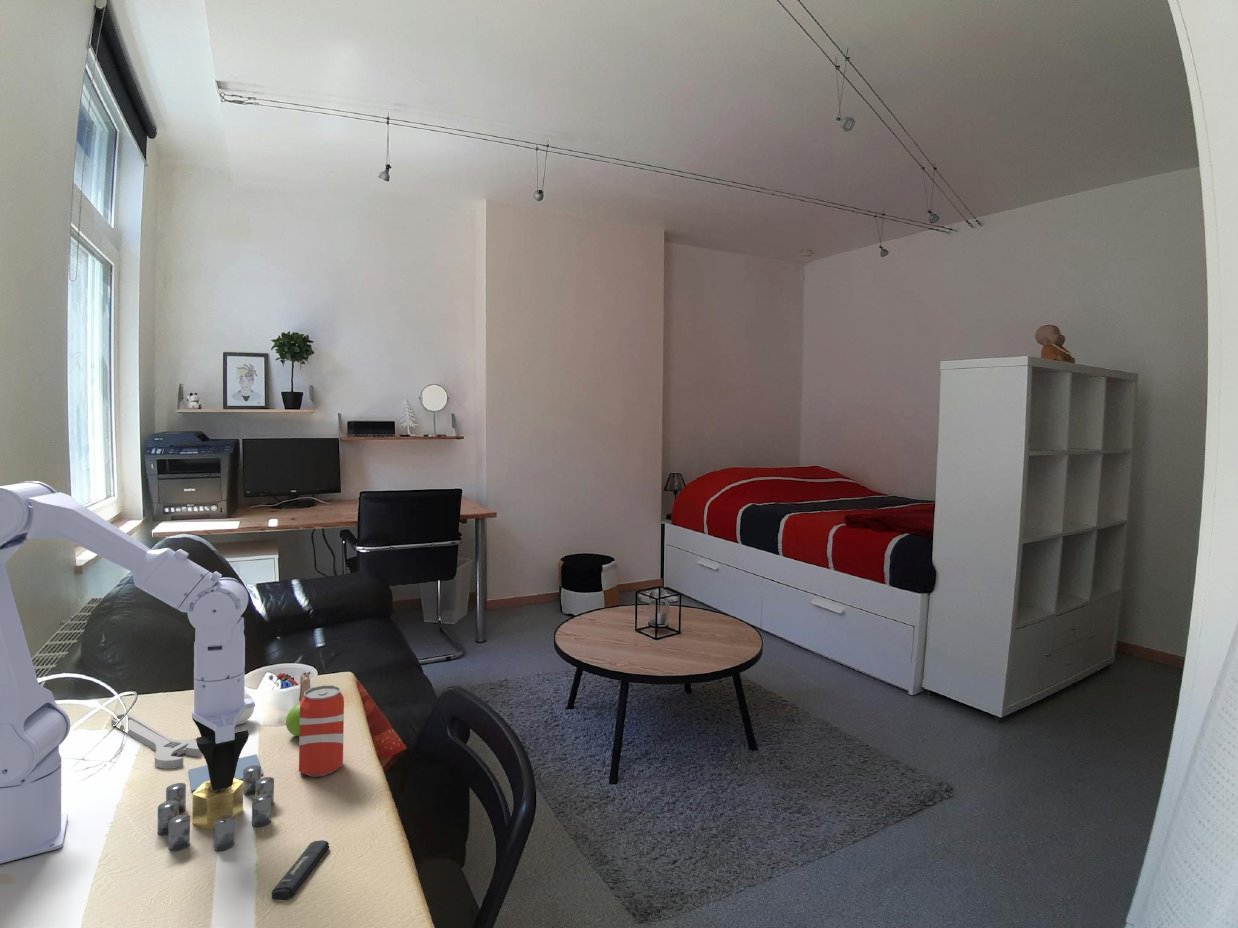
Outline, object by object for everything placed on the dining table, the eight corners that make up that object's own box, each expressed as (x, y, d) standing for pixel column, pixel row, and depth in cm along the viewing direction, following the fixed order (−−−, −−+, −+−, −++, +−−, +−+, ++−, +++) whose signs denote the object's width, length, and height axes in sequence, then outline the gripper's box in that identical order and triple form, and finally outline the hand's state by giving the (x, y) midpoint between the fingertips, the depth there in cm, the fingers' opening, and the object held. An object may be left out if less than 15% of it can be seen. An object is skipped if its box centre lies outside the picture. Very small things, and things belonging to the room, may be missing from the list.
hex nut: (193, 833, 84) (193, 802, 84) (191, 814, 88) (191, 784, 88) (245, 819, 87) (245, 789, 87) (240, 801, 91) (241, 772, 91)
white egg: (259, 724, 115) (260, 692, 115) (223, 734, 111) (224, 701, 111) (243, 711, 120) (243, 680, 120) (208, 720, 116) (208, 688, 116)
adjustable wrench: (107, 726, 114) (107, 716, 113) (151, 714, 119) (151, 704, 119) (162, 774, 98) (162, 762, 98) (209, 758, 103) (210, 747, 103)
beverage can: (342, 756, 105) (343, 681, 104) (343, 775, 99) (344, 696, 98) (299, 762, 102) (301, 686, 102) (298, 782, 96) (299, 701, 96)
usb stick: (310, 849, 82) (310, 837, 82) (331, 850, 82) (331, 838, 82) (268, 902, 72) (268, 889, 72) (291, 903, 72) (291, 890, 72)
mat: (191, 792, 93) (191, 790, 93) (188, 771, 99) (188, 769, 99) (263, 774, 98) (263, 773, 98) (256, 755, 104) (256, 753, 104)
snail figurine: (287, 747, 107) (288, 674, 107) (284, 731, 113) (285, 662, 112) (323, 740, 110) (324, 669, 109) (319, 725, 115) (320, 657, 115)
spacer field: (159, 869, 77) (159, 842, 77) (156, 811, 88) (156, 787, 88) (284, 832, 84) (284, 808, 84) (267, 783, 96) (267, 761, 96)
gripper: (262, 685, 83) (261, 790, 84) (247, 652, 95) (246, 745, 96) (196, 696, 79) (195, 807, 80) (188, 661, 91) (188, 757, 91)
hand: (219, 774), depth 87 cm, fingers open, 7 cm apart
